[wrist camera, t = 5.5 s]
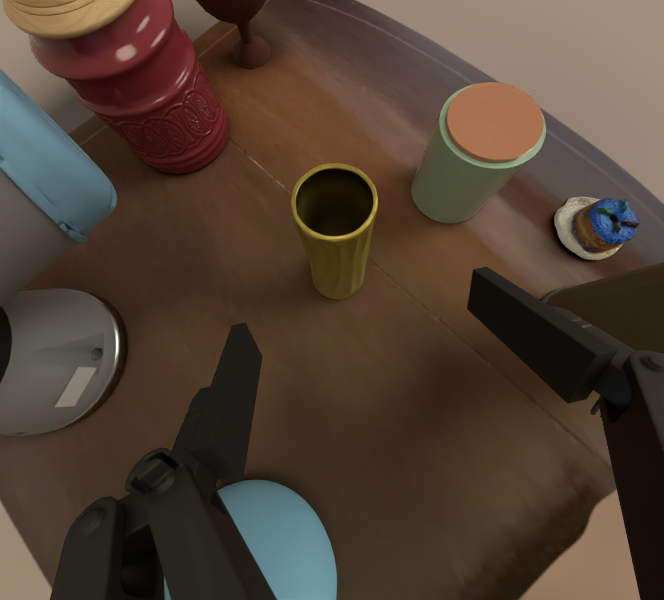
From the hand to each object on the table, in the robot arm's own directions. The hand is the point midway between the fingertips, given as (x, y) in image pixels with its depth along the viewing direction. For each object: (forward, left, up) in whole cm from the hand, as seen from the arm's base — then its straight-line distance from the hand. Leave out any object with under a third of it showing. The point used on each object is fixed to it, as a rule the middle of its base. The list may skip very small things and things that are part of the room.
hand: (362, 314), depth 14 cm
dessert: (+12, +27, -13) cm, 32 cm away
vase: (-6, +4, -13) cm, 15 cm away
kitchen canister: (-35, +5, -13) cm, 37 cm away
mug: (-3, +22, -13) cm, 26 cm away
